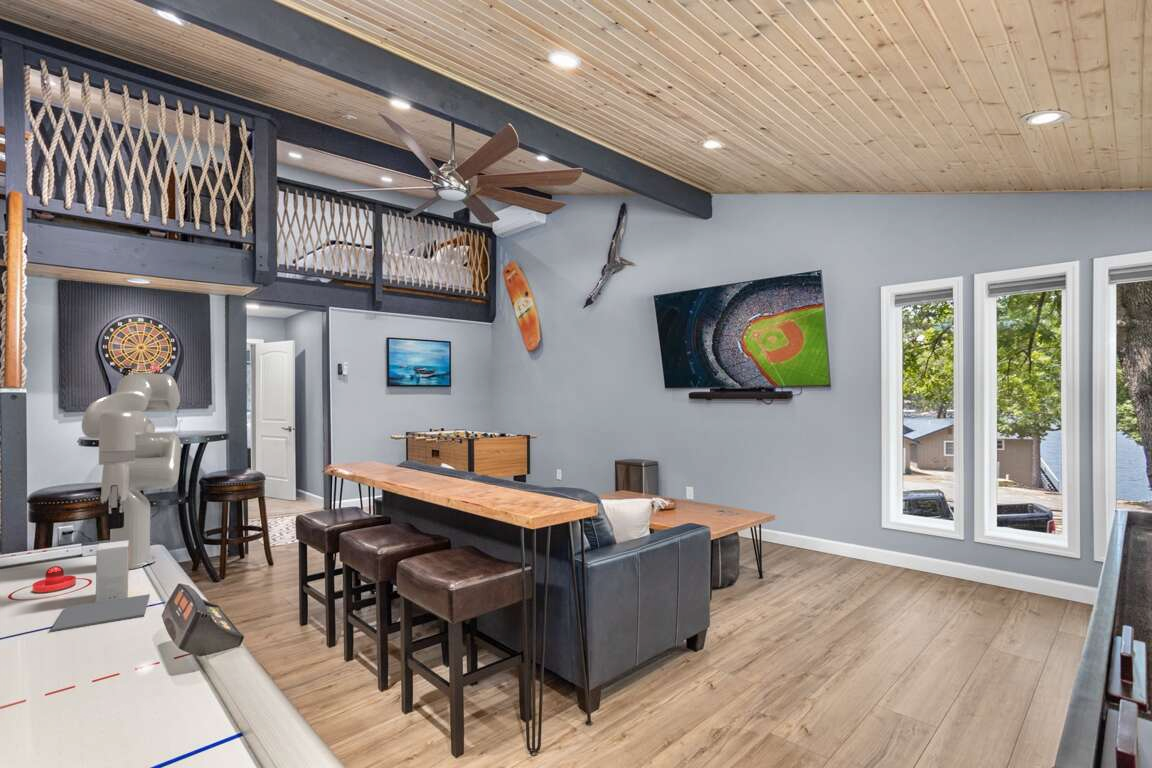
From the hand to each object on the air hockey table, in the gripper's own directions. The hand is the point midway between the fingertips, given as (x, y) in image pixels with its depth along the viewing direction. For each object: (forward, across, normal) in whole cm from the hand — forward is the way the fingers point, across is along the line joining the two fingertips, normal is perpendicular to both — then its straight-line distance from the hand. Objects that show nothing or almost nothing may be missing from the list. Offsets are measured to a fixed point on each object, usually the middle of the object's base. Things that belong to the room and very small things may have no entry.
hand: (116, 528), depth 153 cm
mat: (+16, +20, 0) cm, 26 cm away
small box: (+16, +7, 0) cm, 18 cm away
